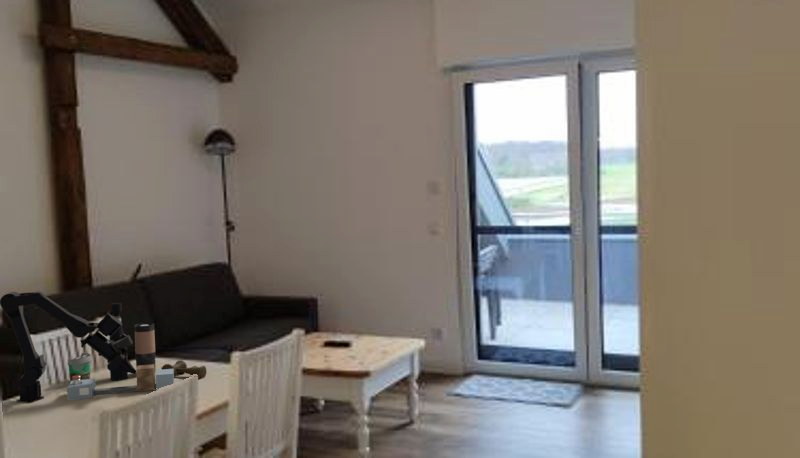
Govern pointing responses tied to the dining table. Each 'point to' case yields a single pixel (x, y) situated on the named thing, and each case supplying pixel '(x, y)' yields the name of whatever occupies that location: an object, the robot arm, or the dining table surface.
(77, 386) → the cabinet
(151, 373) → the block
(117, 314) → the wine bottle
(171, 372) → the end block
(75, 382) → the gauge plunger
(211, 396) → the dining table surface
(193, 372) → the kendama
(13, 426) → the dining table surface
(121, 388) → the rail
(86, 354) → the food container
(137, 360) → the travel mug
